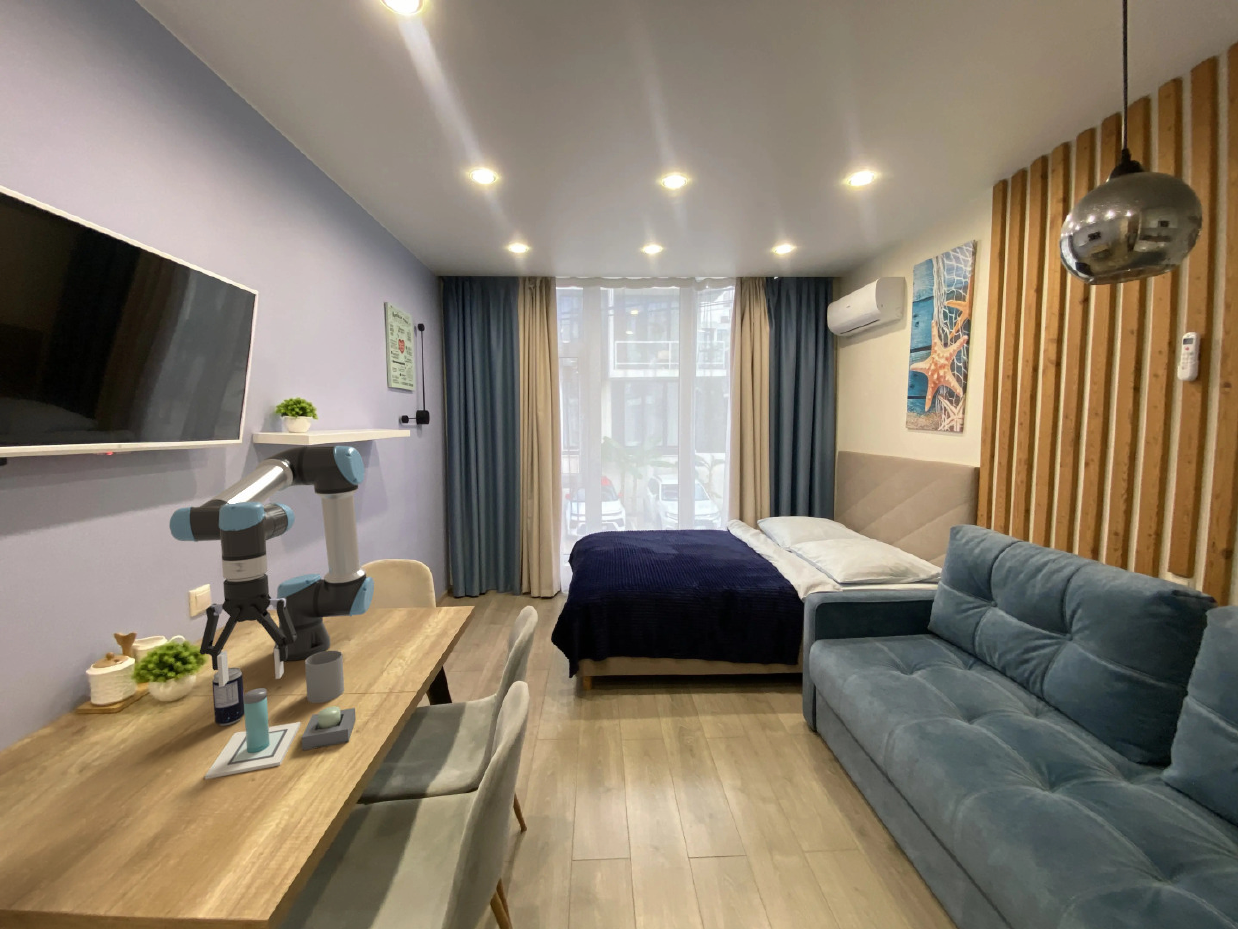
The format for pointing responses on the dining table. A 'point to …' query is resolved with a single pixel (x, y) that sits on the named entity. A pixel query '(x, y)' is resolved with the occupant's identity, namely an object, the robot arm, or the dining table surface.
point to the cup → (324, 676)
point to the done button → (329, 717)
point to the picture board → (242, 761)
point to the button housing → (328, 731)
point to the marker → (256, 720)
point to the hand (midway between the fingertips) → (252, 679)
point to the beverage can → (229, 698)
